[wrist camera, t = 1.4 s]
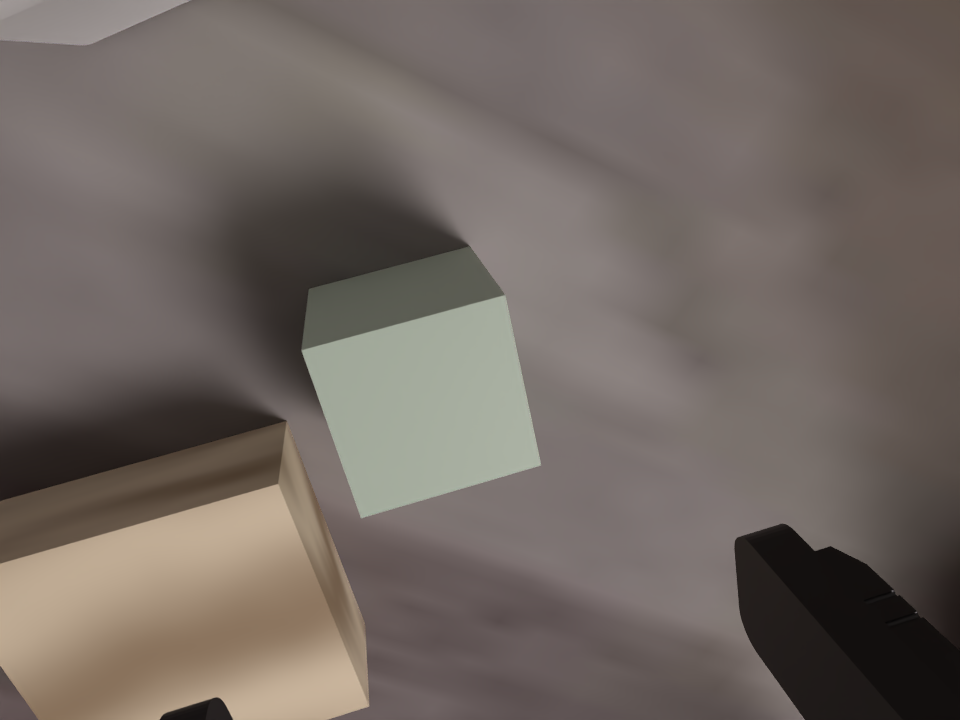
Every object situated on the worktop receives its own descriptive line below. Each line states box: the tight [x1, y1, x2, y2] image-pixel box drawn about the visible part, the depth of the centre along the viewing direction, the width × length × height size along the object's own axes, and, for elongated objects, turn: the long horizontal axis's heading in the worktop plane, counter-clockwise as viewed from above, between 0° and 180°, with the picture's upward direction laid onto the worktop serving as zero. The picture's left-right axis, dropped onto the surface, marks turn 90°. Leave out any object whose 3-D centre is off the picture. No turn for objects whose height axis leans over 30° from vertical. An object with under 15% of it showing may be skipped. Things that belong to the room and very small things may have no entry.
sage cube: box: [301, 246, 541, 518], centre depth 20 cm, size 5×5×5 cm
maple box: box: [0, 421, 369, 720], centre depth 22 cm, size 9×9×4 cm
